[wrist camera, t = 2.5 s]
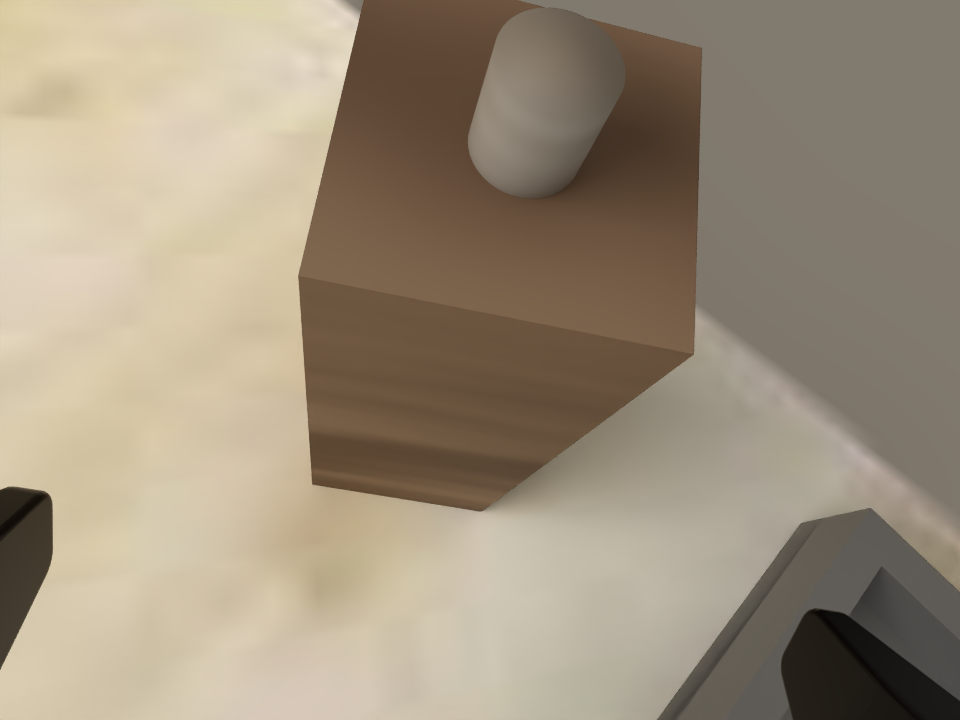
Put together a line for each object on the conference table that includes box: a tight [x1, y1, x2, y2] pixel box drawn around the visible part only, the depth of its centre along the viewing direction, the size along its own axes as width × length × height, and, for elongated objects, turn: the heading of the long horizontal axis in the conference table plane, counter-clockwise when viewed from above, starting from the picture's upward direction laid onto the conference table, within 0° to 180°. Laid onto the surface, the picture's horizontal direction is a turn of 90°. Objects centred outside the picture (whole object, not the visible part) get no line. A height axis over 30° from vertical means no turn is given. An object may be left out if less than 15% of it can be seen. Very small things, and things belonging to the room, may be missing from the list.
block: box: [298, 0, 702, 511], centre depth 14 cm, size 4×4×14 cm
